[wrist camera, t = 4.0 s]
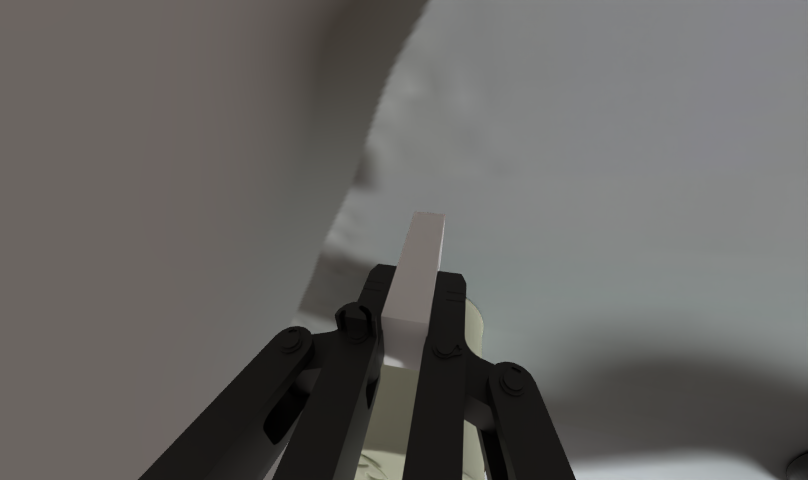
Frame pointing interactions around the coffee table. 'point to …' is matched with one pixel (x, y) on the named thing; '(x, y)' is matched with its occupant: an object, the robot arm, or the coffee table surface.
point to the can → (394, 416)
